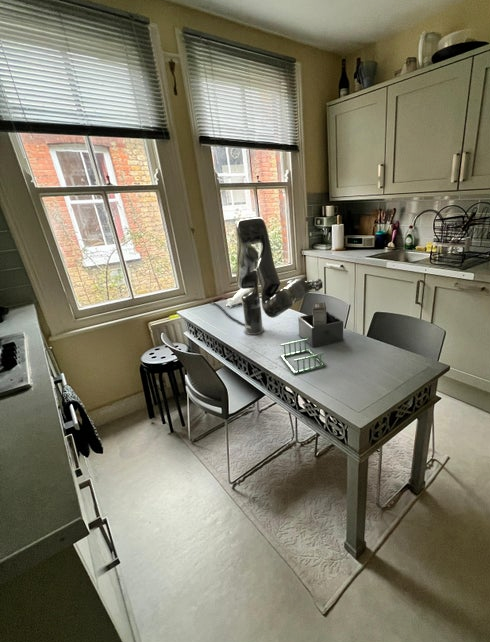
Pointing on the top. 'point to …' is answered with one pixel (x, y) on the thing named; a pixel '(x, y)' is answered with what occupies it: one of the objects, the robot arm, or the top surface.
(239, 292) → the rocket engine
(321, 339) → the grey open box
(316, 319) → the coffee box
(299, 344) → the dish rack
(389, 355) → the top surface
